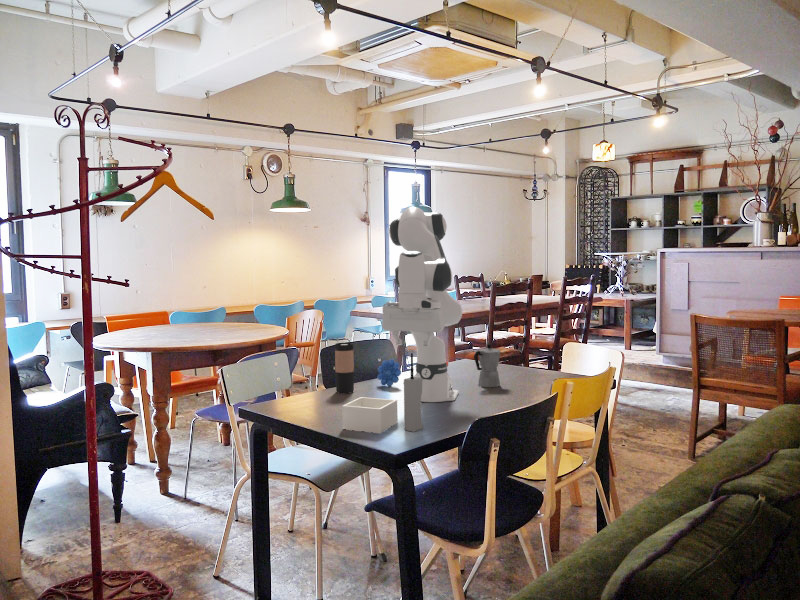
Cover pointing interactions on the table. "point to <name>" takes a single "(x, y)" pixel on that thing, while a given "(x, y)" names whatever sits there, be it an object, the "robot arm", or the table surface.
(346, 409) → the bin
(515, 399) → the table surface
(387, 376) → the grapes
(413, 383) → the vintage mobile phone
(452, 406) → the table surface
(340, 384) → the travel mug
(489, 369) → the coffeepot
